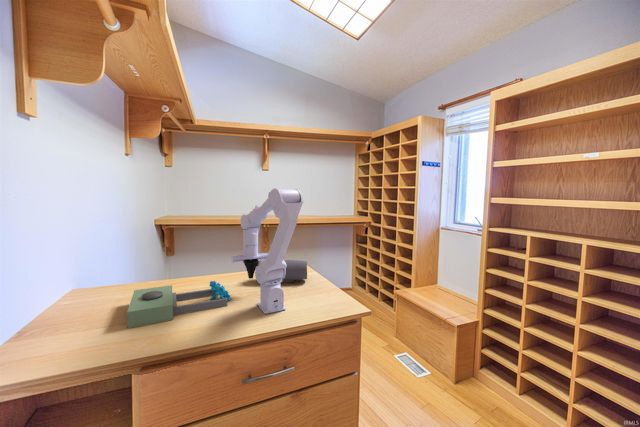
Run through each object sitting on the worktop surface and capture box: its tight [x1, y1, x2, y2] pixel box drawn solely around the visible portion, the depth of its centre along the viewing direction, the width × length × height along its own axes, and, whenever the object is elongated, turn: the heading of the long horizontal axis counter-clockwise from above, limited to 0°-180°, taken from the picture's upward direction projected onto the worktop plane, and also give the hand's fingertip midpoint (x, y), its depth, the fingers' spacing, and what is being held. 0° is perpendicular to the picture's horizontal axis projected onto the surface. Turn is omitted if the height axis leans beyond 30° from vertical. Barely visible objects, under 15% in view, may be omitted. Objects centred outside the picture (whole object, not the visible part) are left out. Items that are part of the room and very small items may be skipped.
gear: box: [208, 280, 231, 302], centre depth 103 cm, size 11×6×10 cm
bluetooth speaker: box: [256, 259, 308, 283], centre depth 126 cm, size 23×9×10 cm, turn 94°
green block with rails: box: [126, 284, 228, 329], centre depth 97 cm, size 20×29×6 cm
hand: (250, 277), depth 109 cm, fingers closed
